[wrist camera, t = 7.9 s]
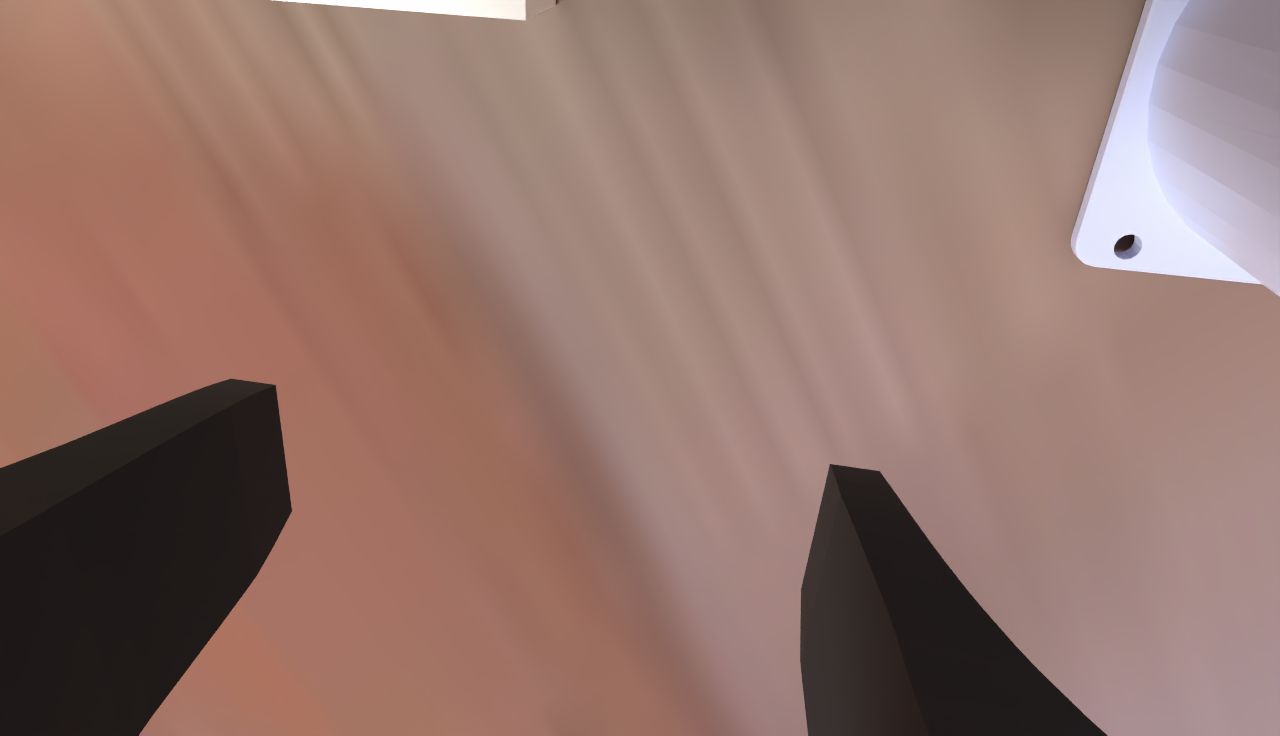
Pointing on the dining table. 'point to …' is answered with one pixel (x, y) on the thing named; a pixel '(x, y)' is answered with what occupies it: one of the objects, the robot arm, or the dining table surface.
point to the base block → (453, 6)
